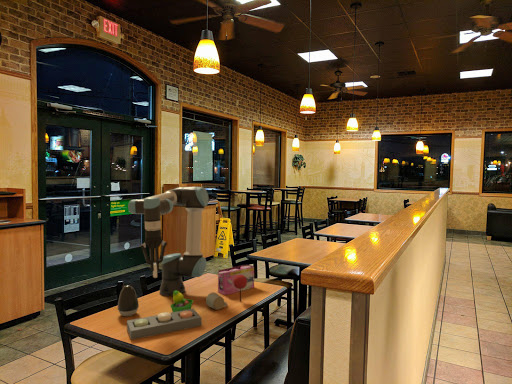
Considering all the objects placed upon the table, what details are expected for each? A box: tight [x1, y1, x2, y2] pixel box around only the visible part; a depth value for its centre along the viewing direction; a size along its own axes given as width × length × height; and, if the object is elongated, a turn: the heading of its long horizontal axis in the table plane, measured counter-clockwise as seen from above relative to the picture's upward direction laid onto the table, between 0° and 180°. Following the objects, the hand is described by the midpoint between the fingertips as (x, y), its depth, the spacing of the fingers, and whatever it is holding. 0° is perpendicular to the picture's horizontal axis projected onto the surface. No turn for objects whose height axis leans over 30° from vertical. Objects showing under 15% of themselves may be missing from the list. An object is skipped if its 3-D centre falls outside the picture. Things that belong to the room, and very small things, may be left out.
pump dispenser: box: [117, 284, 139, 317], centre depth 189 cm, size 10×10×15 cm
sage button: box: [134, 318, 148, 327], centre depth 168 cm, size 6×6×2 cm
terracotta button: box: [180, 311, 193, 319], centre depth 177 cm, size 6×6×2 cm
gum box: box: [217, 264, 255, 296], centre depth 226 cm, size 24×8×14 cm, turn 129°
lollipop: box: [233, 275, 247, 302], centre depth 206 cm, size 8×8×15 cm
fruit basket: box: [170, 291, 194, 313], centre depth 191 cm, size 11×9×11 cm
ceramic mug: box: [205, 292, 228, 311], centre depth 197 cm, size 11×8×8 cm
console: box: [126, 308, 202, 341], centre depth 172 cm, size 13×32×4 cm, turn 117°
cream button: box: [157, 311, 172, 322], centre depth 172 cm, size 6×6×2 cm
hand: (155, 276), depth 179 cm, fingers closed
